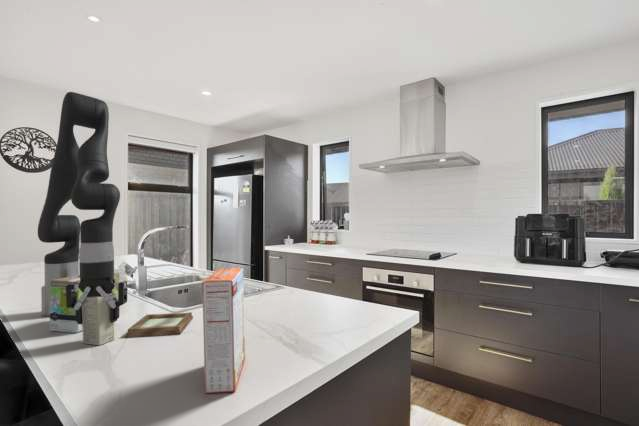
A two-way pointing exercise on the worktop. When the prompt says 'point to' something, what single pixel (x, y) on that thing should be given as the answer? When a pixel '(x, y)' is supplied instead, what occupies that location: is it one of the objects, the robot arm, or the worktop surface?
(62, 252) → the robot arm
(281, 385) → the worktop surface
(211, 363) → the cracker box
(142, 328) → the brown wooden picture frame
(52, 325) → the tea box
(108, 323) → the skincare box
